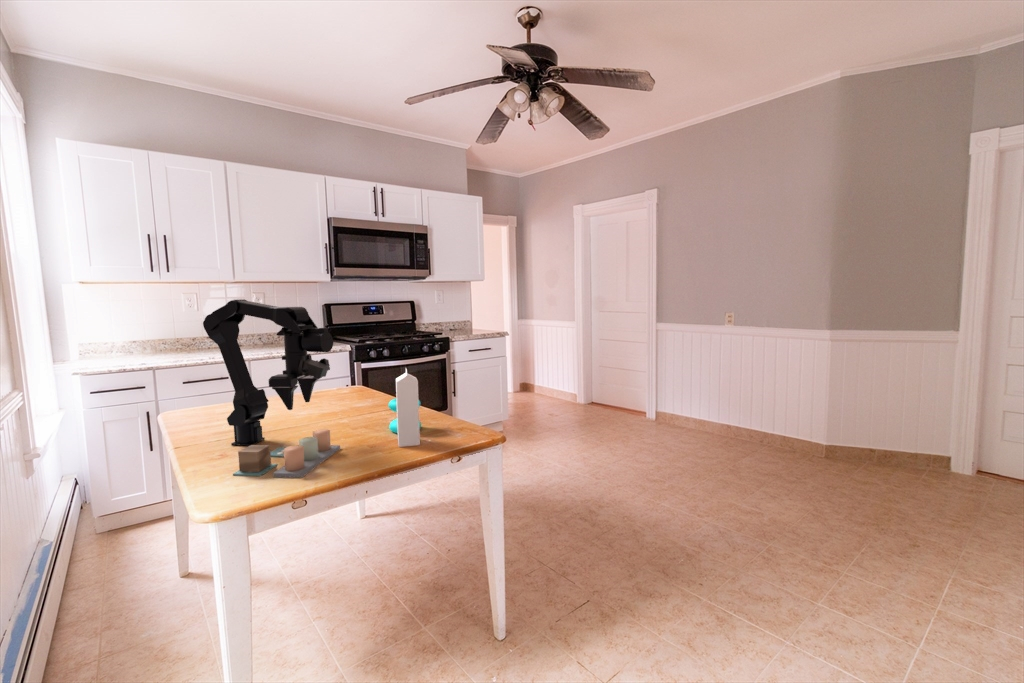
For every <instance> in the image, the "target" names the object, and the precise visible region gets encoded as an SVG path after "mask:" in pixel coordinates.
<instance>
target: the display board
mask: <svg viewBox="0 0 1024 683" xmlns="http://www.w3.org/2000/svg"><path fill="white" fill-rule="evenodd" d="M285 447H286V448H285V449H284V457H283V459H284V461H283V462H284V465H283V466H281V467H280V468H279V469H277V470H276V471H274V472H273V473H272V477H273V478H288V479H289V478H293V479H294V478H298V479H301V478H303V477H304V476H305V475H307V474H308V473H310V472H311V471H313V470H314V469H315V468H316V467H317V466H319V465H321V464H322V463H323V462H325V461H326V460H327V459H328V458H330V457H331V456H333V454H335V453H337V452H338V451H339V450H341V445H340V444H331V430H330V429H328V428H323V429H317V430H314V431H312V436H307V437H302V438H300V439H299V441H298V445H291V446H290V445H289V446H285Z"/></svg>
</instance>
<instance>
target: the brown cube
mask: <svg viewBox="0 0 1024 683" xmlns="http://www.w3.org/2000/svg"><path fill="white" fill-rule="evenodd" d="M270 452H271V445H270V444H267V445H266V444H254V445H250V446H246V447H244V448H242V449H241V450H238V453H237V454H238V468H239V469H238V471H239V470H240V472H260V471H261V470H263V469H265V468H266V467H268V466H269V465H271V464H272V457H271V453H270Z"/></svg>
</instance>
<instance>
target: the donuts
mask: <svg viewBox="0 0 1024 683" xmlns="http://www.w3.org/2000/svg"><path fill="white" fill-rule="evenodd" d="M421 404H422V403H421V400H420V399H419V408H420V407H421ZM388 408H389V410H391V411H392V412H395V413H397V403H396V398H393V399H391V400H390V401H389V402H388ZM421 427H422V423H421V421H420V420H419V430H420V429H421ZM388 428H389V430H390V431H391V432H392V433H394V434H398V432H397V418H395V419H393V420H392V421H390V423H389V427H388Z"/></svg>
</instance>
